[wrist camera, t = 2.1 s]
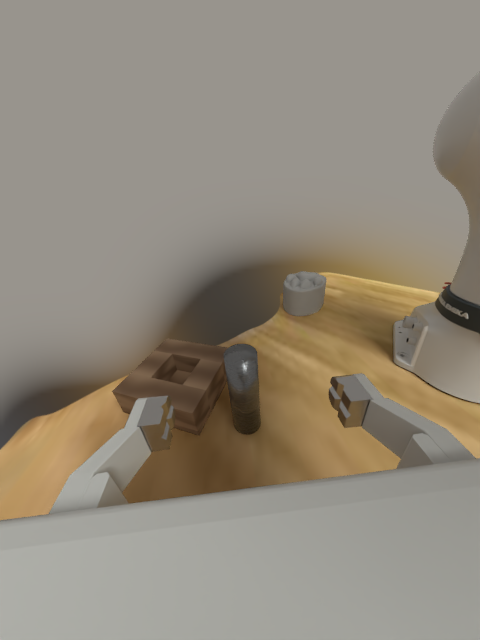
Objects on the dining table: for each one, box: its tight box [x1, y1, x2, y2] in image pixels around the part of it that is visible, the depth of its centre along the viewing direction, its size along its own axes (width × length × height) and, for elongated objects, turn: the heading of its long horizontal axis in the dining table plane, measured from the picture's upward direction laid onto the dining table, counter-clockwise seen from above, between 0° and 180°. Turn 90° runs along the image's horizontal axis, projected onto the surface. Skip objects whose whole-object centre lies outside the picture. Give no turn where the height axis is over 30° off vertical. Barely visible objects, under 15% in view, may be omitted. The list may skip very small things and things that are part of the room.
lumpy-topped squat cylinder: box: [283, 272, 326, 316], centre depth 60 cm, size 10×13×9 cm
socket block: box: [112, 339, 228, 435], centre depth 38 cm, size 14×14×5 cm
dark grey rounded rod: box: [224, 344, 261, 435], centre depth 29 cm, size 4×4×13 cm
